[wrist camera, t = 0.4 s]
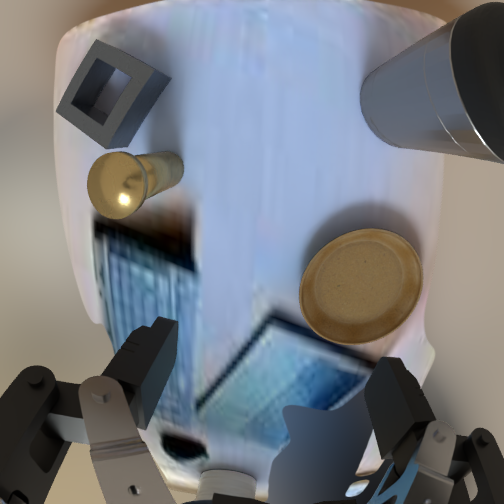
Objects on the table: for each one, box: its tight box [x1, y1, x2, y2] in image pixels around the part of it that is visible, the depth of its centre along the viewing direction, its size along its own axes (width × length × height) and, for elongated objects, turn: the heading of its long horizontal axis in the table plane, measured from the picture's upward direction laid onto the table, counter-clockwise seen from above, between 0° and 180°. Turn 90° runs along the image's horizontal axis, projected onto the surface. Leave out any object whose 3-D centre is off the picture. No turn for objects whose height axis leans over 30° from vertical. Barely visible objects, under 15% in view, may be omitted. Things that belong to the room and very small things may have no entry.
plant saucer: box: [299, 228, 423, 345], centre depth 31 cm, size 15×15×3 cm
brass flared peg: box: [87, 151, 184, 219], centre depth 24 cm, size 5×5×11 cm
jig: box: [56, 39, 172, 149], centre depth 24 cm, size 9×9×4 cm
